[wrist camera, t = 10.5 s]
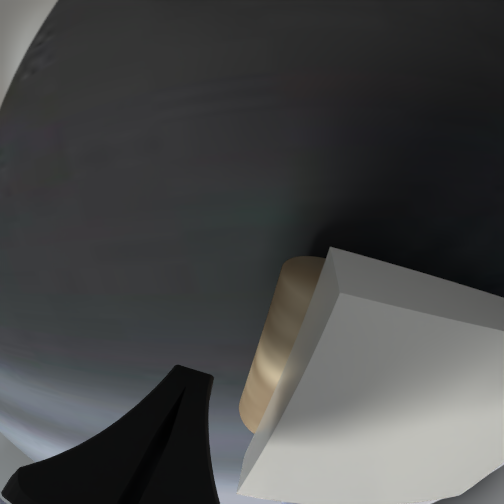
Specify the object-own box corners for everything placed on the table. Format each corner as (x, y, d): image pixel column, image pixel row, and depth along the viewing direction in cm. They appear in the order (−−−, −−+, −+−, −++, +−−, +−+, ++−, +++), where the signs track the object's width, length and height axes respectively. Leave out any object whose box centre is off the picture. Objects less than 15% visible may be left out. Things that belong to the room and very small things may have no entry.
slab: (452, 465, 13) (459, 495, 10) (244, 454, 13) (236, 493, 11) (574, 321, 8) (598, 350, 5) (330, 246, 8) (339, 292, 6)
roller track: (526, 404, 15) (541, 437, 11) (245, 375, 16) (232, 432, 13) (578, 330, 12) (602, 360, 8) (284, 247, 13) (277, 297, 9)
